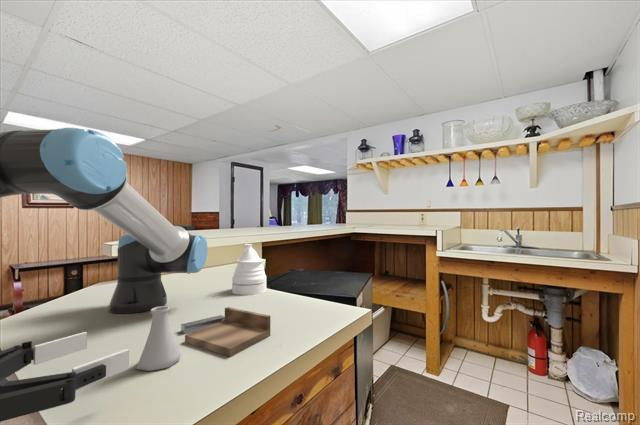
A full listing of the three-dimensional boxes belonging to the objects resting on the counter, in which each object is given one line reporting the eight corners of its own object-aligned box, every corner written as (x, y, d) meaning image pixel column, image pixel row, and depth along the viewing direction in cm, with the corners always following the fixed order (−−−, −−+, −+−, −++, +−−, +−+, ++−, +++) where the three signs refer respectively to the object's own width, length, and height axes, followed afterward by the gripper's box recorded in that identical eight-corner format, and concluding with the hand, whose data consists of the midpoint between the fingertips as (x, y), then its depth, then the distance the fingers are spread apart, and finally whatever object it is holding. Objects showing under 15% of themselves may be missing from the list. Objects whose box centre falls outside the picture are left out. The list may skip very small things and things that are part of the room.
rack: (184, 342, 62) (185, 321, 62) (227, 324, 73) (227, 307, 73) (230, 356, 55) (230, 333, 55) (270, 335, 66) (270, 315, 66)
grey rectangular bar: (180, 332, 69) (181, 324, 69) (221, 322, 75) (221, 314, 75) (184, 335, 67) (184, 326, 67) (225, 325, 74) (225, 317, 74)
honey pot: (262, 294, 103) (262, 245, 104) (227, 294, 103) (227, 245, 104) (269, 286, 116) (269, 242, 117) (237, 286, 116) (238, 242, 117)
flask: (149, 354, 57) (150, 303, 57) (186, 352, 57) (187, 302, 58) (127, 373, 49) (128, 315, 50) (171, 371, 50) (171, 313, 50)
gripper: (-157, 427, 33) (71, 354, 52) (-146, 548, 21) (148, 395, 39) (-153, 362, 34) (72, 313, 52) (-141, 443, 21) (149, 340, 40)
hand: (105, 348), depth 46 cm, fingers open, 13 cm apart
